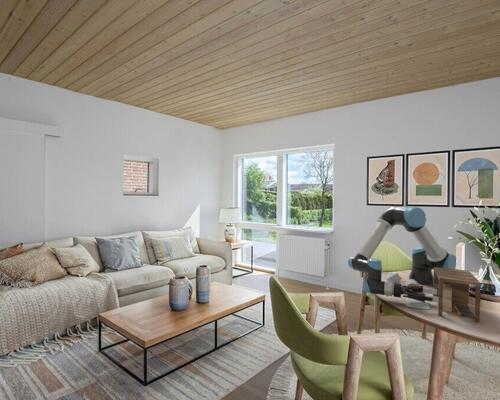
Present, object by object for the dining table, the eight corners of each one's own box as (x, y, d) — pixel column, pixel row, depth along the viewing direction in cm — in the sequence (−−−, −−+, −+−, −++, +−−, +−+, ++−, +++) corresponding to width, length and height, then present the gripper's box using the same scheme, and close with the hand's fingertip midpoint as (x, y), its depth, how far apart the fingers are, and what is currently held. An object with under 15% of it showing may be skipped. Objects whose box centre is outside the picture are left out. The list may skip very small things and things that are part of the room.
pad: (405, 299, 167) (405, 298, 167) (427, 302, 162) (427, 301, 162) (405, 305, 157) (405, 305, 157) (429, 309, 152) (429, 309, 152)
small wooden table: (432, 299, 166) (433, 267, 166) (467, 304, 159) (468, 270, 159) (438, 316, 144) (439, 278, 144) (479, 322, 137) (480, 282, 136)
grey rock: (400, 288, 189) (405, 274, 192) (387, 280, 191) (393, 267, 194) (394, 288, 197) (399, 276, 200) (382, 281, 198) (387, 269, 201)
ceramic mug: (406, 294, 176) (406, 281, 176) (404, 290, 183) (405, 278, 183) (425, 296, 172) (426, 284, 172) (423, 292, 179) (424, 280, 179)
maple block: (438, 306, 157) (438, 283, 156) (449, 308, 154) (450, 285, 154) (439, 309, 152) (440, 286, 152) (451, 311, 150) (451, 287, 150)
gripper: (393, 289, 175) (435, 295, 165) (392, 303, 152) (441, 311, 143) (393, 277, 175) (436, 282, 165) (392, 289, 152) (441, 295, 143)
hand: (438, 295), depth 154 cm, fingers open, 13 cm apart
